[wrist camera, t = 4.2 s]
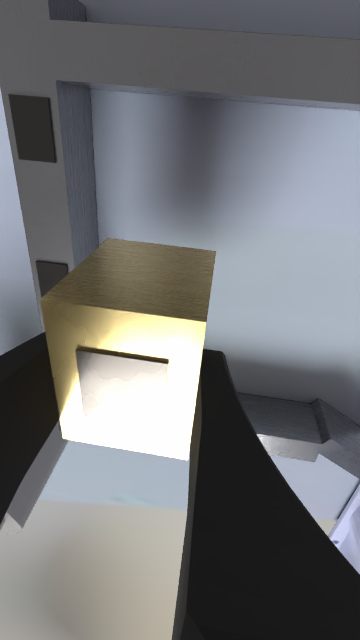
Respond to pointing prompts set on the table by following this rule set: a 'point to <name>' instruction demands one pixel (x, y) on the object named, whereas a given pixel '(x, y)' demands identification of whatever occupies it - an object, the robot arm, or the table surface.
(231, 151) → the table surface
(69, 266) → the grey square frame
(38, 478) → the power adapter
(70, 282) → the brass cube with recess
